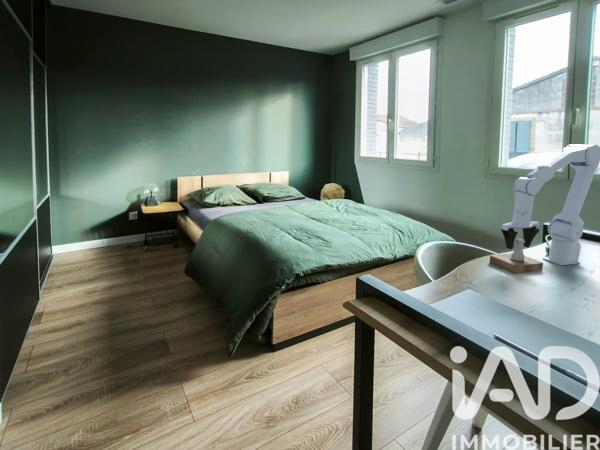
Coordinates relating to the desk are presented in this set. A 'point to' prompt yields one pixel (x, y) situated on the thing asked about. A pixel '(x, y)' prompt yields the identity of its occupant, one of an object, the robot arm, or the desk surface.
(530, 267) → the walnut block
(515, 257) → the rook chess piece
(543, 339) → the desk surface
